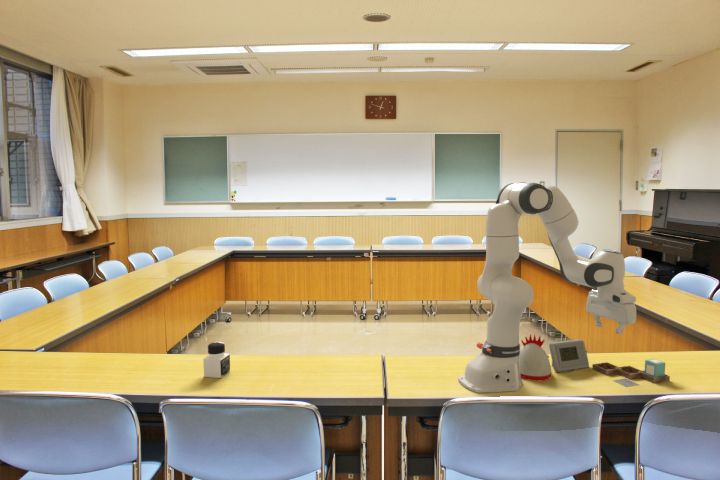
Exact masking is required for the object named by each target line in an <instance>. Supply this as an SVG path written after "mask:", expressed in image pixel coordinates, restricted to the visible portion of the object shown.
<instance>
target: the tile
mask: <svg viewBox="0 0 720 480" xmlns="http://www.w3.org/2000/svg"><path fill="white" fill-rule="evenodd" d="M612 382H615V383H617V384H619V385H621V386H623V387H625V388H629V387H636V386H640V384H639V383H637V382H635V381H632V380H631V379H628V378H621V379H615V380H614V379H613V380H612Z"/></svg>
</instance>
